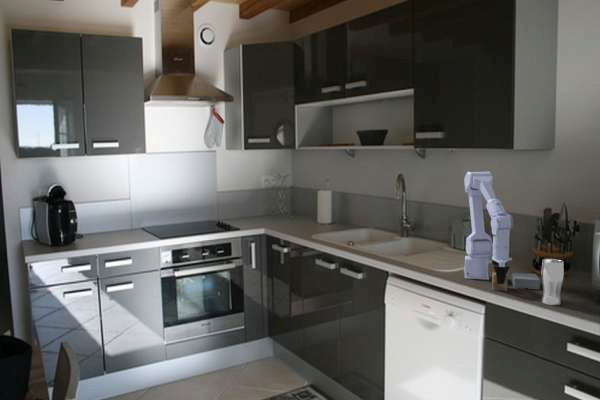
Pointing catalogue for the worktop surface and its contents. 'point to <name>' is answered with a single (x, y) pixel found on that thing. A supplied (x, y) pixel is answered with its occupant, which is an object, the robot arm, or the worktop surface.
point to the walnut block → (498, 286)
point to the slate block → (525, 281)
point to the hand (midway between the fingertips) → (499, 281)
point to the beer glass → (552, 280)
